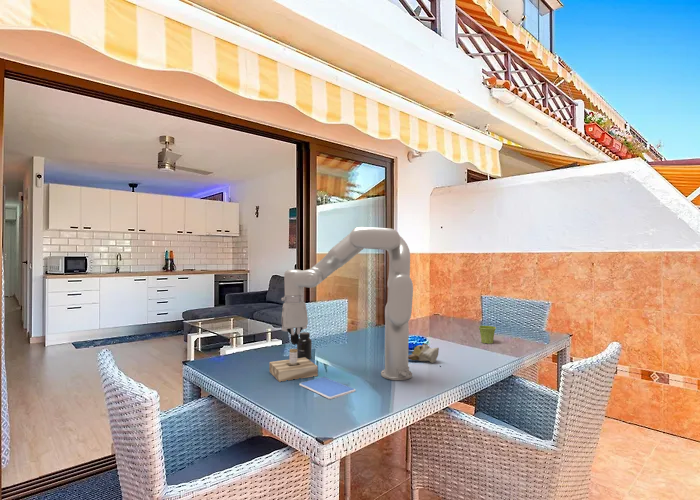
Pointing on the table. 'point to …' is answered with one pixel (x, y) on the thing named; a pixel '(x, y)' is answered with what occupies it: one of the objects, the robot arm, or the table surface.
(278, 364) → the block
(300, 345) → the supplement bottle
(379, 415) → the table surface
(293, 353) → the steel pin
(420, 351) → the ceramic sculpture
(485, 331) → the plant pot
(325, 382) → the tablet computer
